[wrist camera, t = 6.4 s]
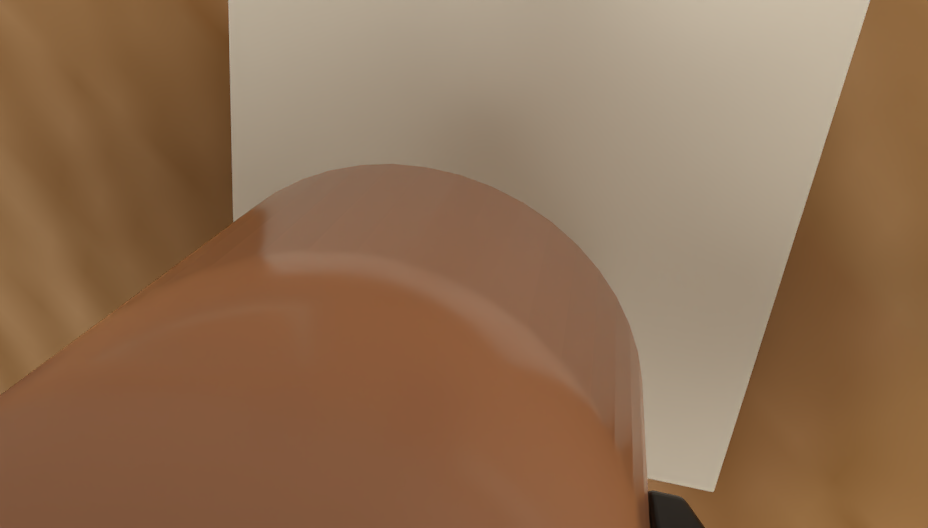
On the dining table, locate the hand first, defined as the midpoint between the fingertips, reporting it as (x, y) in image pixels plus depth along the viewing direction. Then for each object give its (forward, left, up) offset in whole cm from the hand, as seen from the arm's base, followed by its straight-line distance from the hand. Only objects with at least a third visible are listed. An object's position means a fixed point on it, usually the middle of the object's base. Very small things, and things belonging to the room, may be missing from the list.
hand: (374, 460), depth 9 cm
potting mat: (0, 0, -10) cm, 10 cm away
